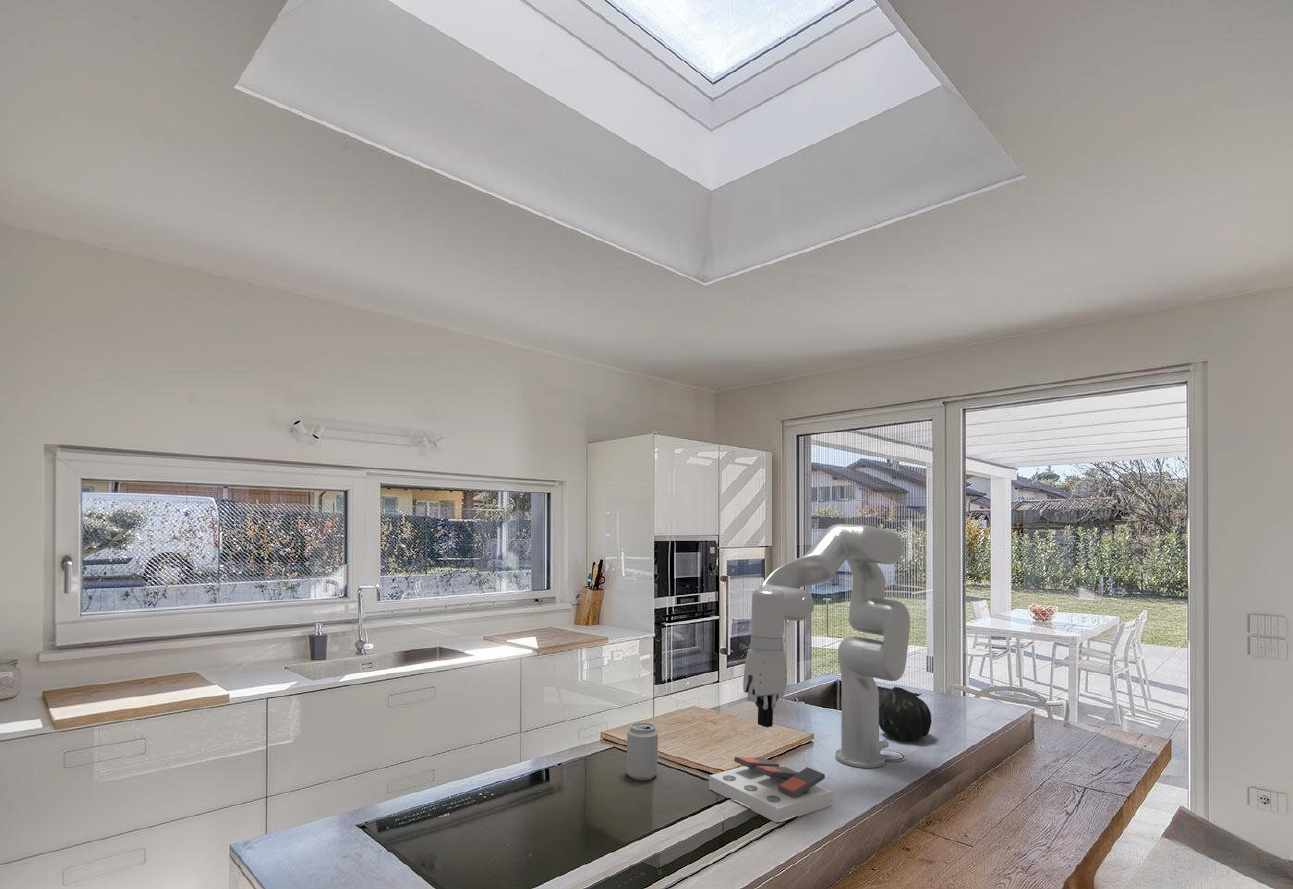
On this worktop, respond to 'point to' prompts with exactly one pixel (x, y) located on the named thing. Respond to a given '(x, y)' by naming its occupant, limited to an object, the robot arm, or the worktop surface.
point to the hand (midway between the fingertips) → (765, 725)
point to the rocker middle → (776, 771)
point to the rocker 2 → (801, 782)
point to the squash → (904, 715)
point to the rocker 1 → (755, 762)
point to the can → (642, 751)
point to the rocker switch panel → (767, 794)
